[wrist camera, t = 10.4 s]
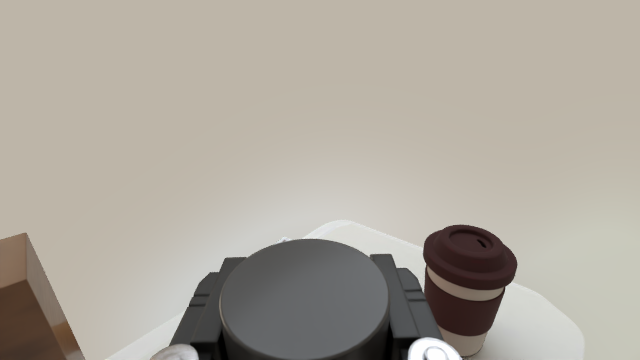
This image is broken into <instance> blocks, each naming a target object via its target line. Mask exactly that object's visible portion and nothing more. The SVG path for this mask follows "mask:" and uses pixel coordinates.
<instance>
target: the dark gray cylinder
mask: <svg viewBox="0 0 640 360" xmlns="http://www.w3.org/2000/svg"><path fill="white" fill-rule="evenodd" d="M390 303H391V295H390V288H389V285H388V282H387V280H386V278H385V275H384V274H383V272H382V271H381V269H380V268H379V266H378V265H377V264H376V263H375V262H374V261H373V260H372V259H370V258H369V257H368V256H367V255H365V254H364V253H362V252H360V251H359V250H357V249H355V248H353V247H350V246H348V245H345V244H342V243H339V242H334V241H329V240H322V239H299V240H291V241H286V242H281V243H277V244H274V245H271V246H269V247H266V248H264V249H262V250H260V251H258V252H256V253H254V254H252V255H251V256H249V257H248V258H246V259H245V260H244V261H242V262H241V263H240V264H239V265H238V266H237V267H236V268H235V269H234V270H233V271H232V273H231V274H230V275H229V276H228V278H227V280H226V281H225V283H224V286H223V288H222V291H221V294H220V299H219V315H220V321H221V326H222V331H223V336H224V341H225V347H226V352H227V357H228V360H385V359H386V348H387V337H388V326H389V315H390Z"/></svg>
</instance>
